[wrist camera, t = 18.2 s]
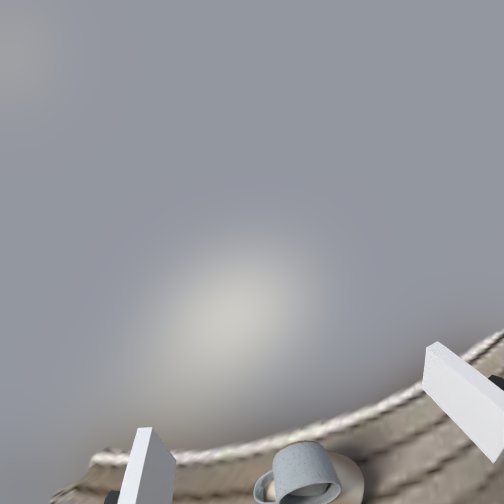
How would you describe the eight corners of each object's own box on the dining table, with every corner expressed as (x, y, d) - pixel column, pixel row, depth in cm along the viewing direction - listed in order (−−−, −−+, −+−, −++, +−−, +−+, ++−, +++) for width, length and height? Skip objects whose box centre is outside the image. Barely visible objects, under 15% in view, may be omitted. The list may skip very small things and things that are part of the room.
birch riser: (319, 449, 35) (317, 436, 35) (383, 491, 23) (386, 480, 23) (246, 496, 29) (239, 485, 28) (303, 554, 17) (299, 549, 16)
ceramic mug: (326, 457, 30) (321, 428, 28) (343, 499, 22) (341, 476, 20) (253, 476, 30) (238, 449, 28) (260, 521, 22) (242, 501, 20)
